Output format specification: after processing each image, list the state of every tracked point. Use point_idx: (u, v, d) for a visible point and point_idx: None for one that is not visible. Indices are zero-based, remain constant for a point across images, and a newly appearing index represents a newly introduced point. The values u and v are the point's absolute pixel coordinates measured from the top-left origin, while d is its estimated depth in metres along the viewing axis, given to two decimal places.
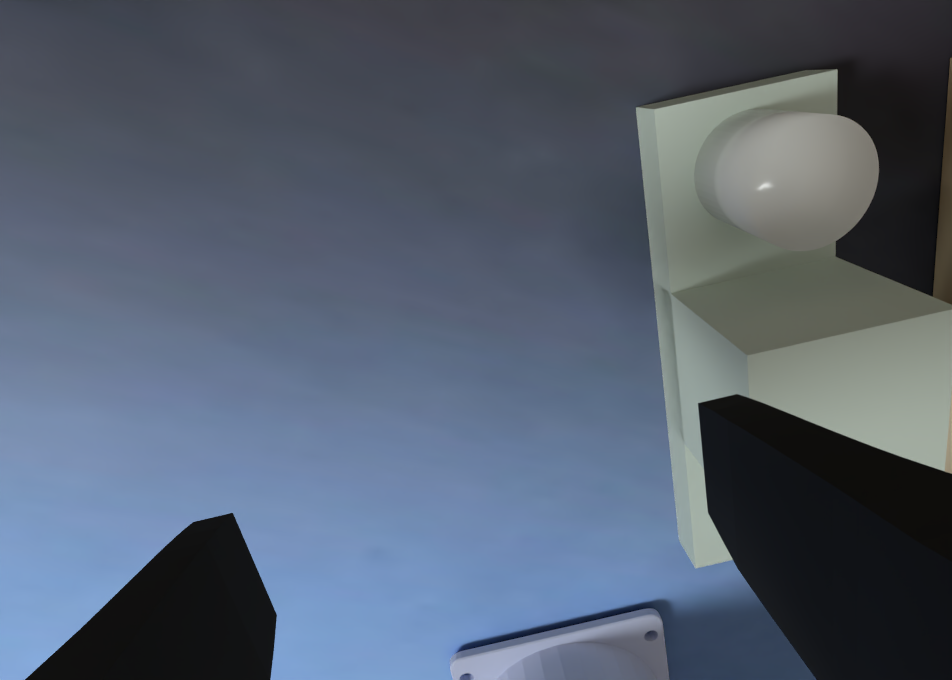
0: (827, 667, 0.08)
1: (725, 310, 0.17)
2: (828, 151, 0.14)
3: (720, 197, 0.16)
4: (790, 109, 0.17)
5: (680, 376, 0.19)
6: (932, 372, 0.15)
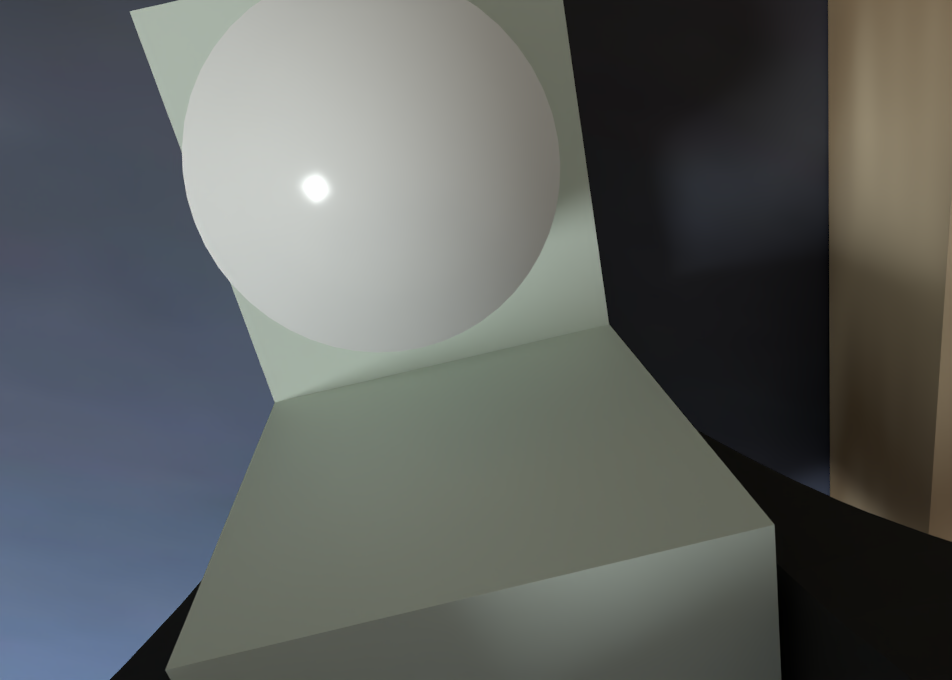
0: None
1: (302, 467, 0.07)
2: (395, 83, 0.05)
3: None
4: None
5: None
6: (723, 676, 0.06)
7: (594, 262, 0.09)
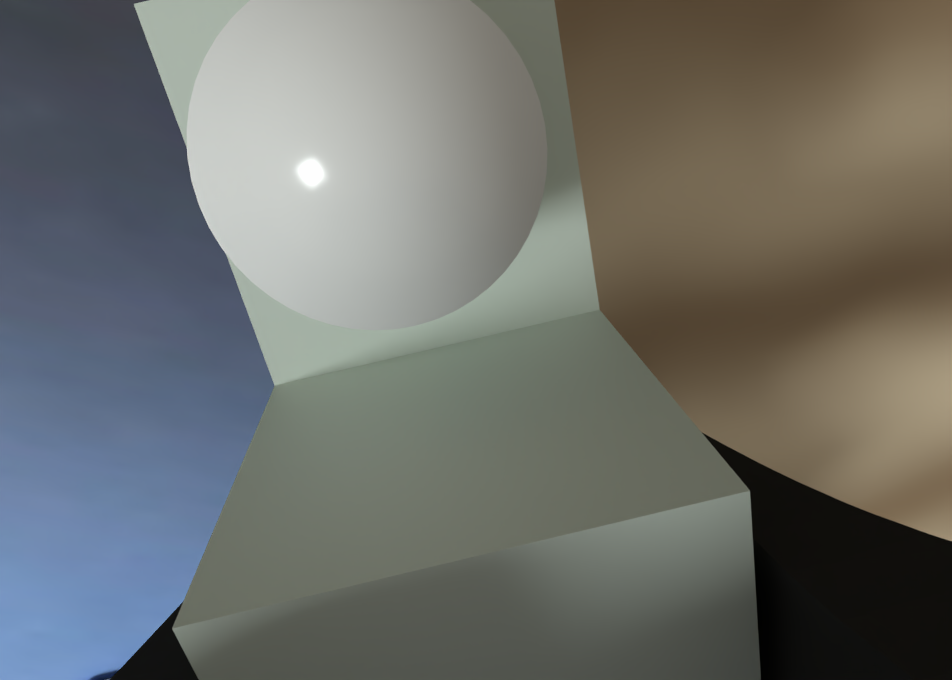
0: None
1: (301, 445, 0.08)
2: (389, 71, 0.05)
3: None
4: None
5: None
6: (703, 637, 0.06)
7: (585, 249, 0.09)
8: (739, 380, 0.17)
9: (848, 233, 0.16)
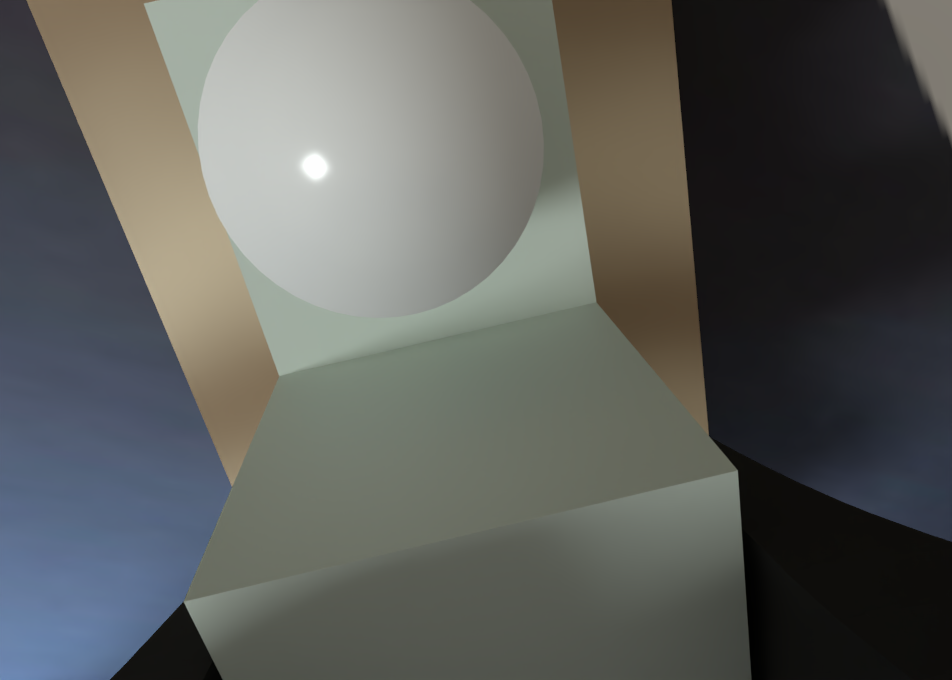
0: None
1: (305, 431, 0.08)
2: (392, 67, 0.06)
3: None
4: None
5: None
6: (694, 613, 0.06)
7: (582, 242, 0.09)
8: None
9: None
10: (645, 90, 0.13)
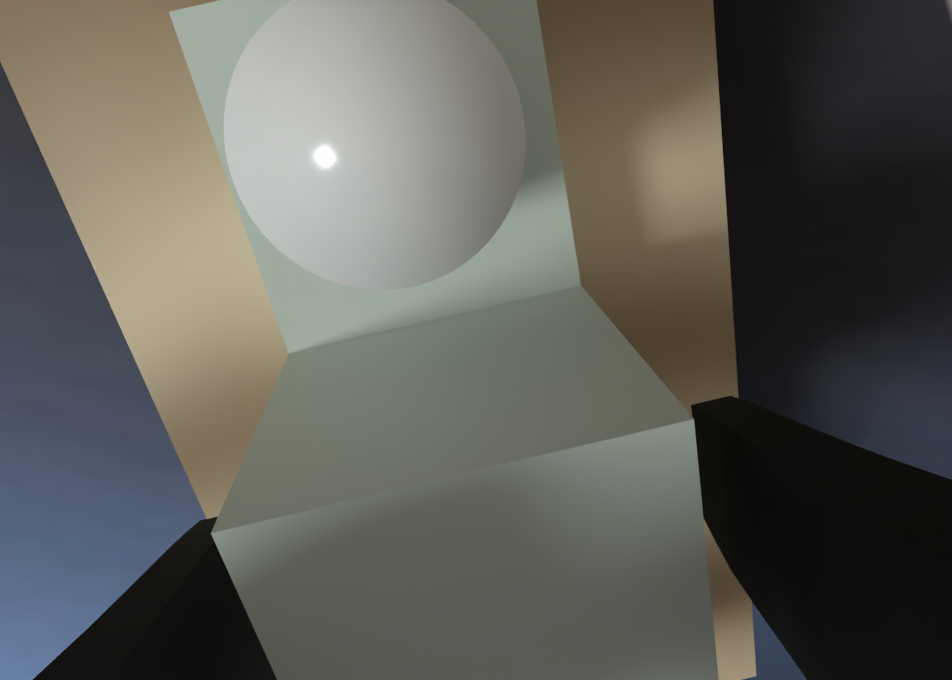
0: (818, 669, 0.08)
1: (314, 399, 0.09)
2: (392, 69, 0.06)
3: None
4: None
5: None
6: (659, 550, 0.07)
7: (567, 230, 0.10)
8: None
9: None
10: (680, 90, 0.11)
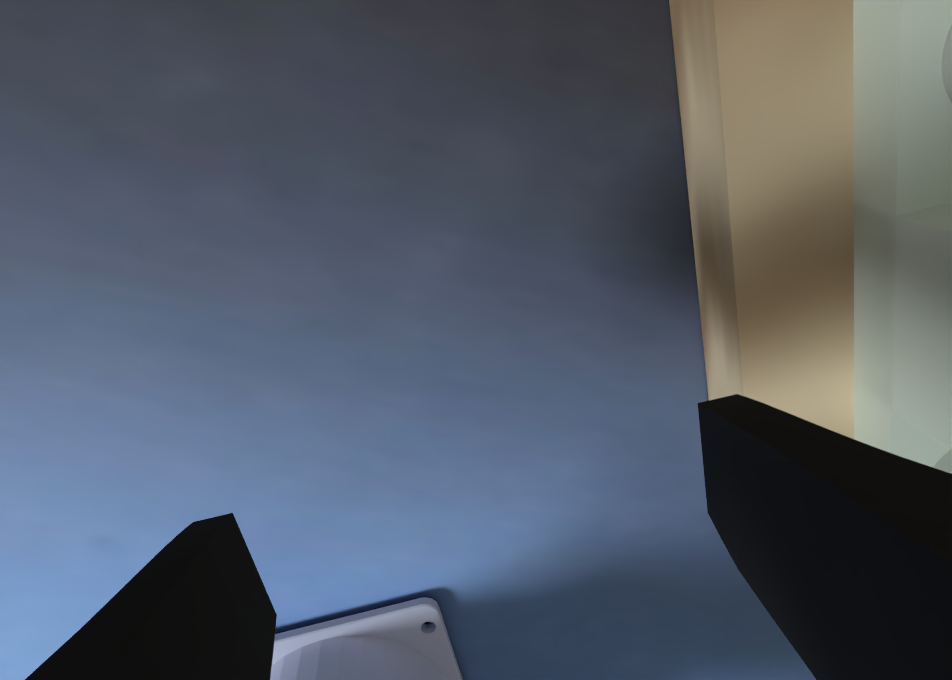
0: (827, 667, 0.08)
1: None
2: None
3: None
4: None
5: (899, 322, 0.15)
6: None
7: None
8: None
9: None
10: None
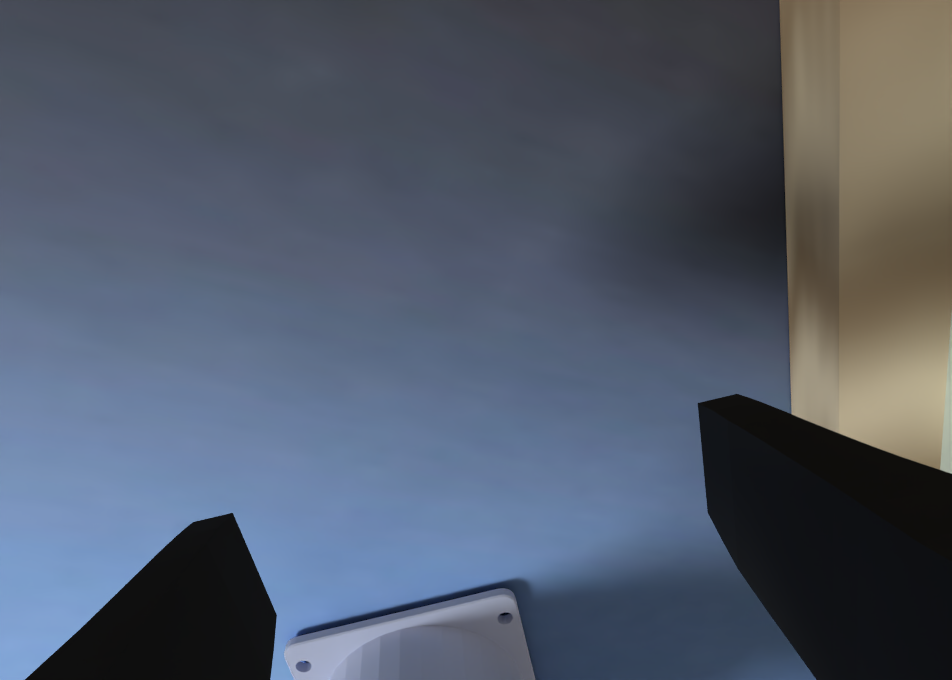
0: (827, 667, 0.08)
1: None
2: None
3: None
4: None
5: None
6: None
7: None
8: None
9: None
10: None
